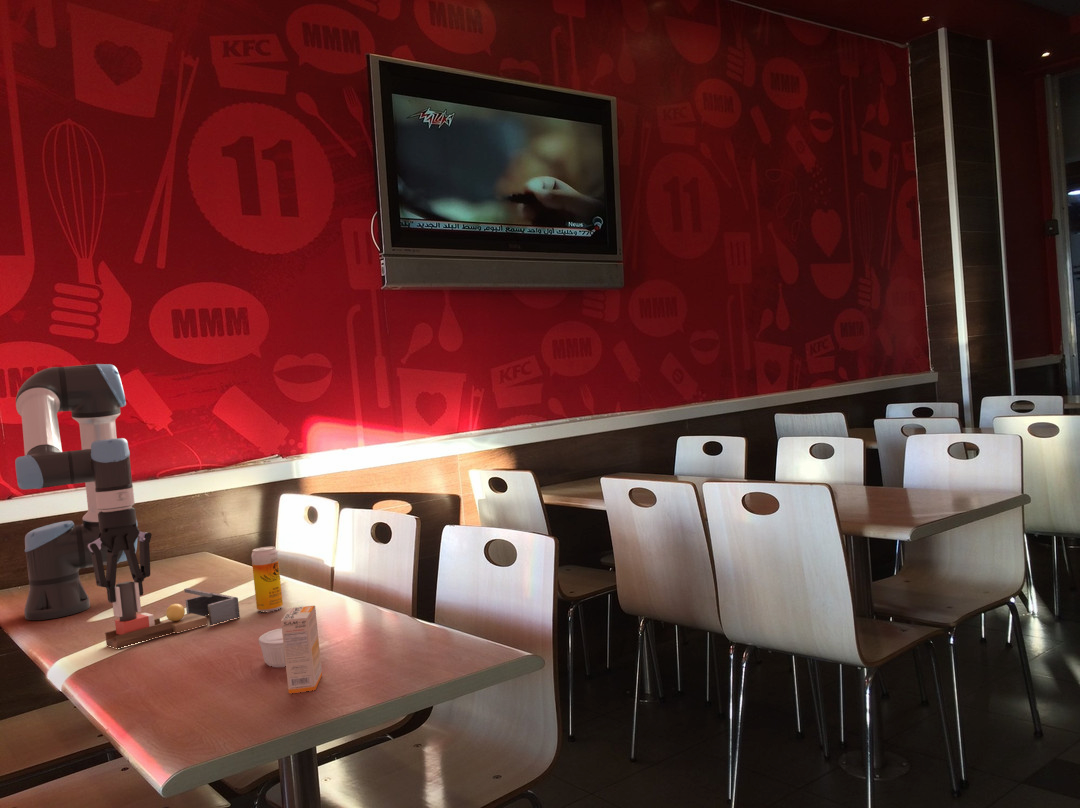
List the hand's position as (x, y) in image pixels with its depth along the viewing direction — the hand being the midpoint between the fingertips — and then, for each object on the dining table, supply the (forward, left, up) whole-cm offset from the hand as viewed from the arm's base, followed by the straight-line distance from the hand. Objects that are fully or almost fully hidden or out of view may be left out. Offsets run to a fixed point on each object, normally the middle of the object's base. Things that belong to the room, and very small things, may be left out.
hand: (127, 613), depth 195 cm
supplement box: (+63, +4, -7) cm, 63 cm away
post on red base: (0, +1, -4) cm, 4 cm away
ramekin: (+47, +11, -7) cm, 49 cm away
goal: (0, +19, -7) cm, 21 cm away
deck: (0, +12, -7) cm, 14 cm away
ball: (0, +11, -3) cm, 11 cm away
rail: (0, +2, -7) cm, 7 cm away
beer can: (+6, +31, -7) cm, 32 cm away
